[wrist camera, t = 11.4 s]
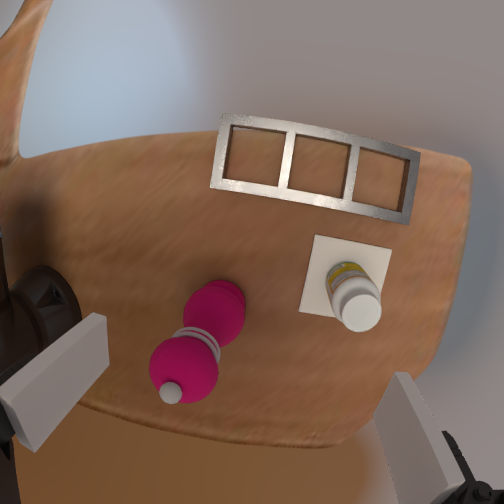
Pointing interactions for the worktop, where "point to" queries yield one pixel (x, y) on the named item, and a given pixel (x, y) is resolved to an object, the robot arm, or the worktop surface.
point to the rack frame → (291, 131)
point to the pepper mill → (198, 343)
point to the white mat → (330, 254)
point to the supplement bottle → (353, 296)
